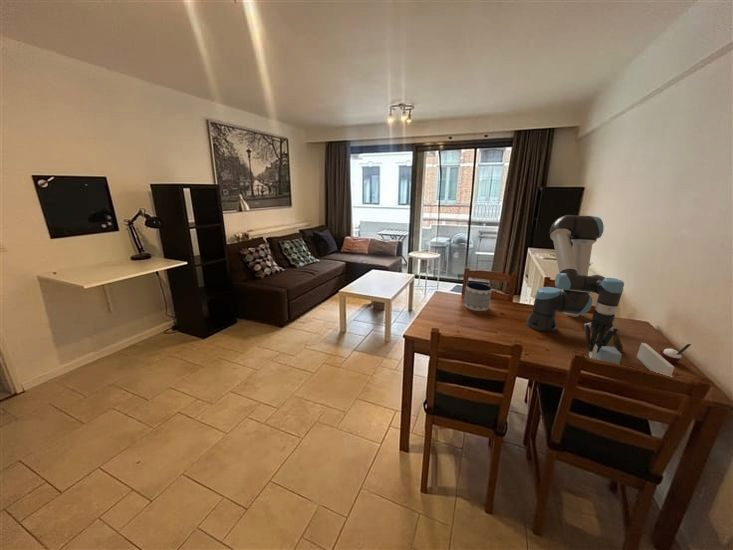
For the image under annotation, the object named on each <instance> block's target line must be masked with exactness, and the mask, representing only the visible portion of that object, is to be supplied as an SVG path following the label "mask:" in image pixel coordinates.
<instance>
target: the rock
mask: <svg viewBox="0 0 733 550" xmlns="http://www.w3.org/2000/svg"><path fill="white" fill-rule="evenodd" d="M606 334H607V332H606ZM606 334H605V335H606ZM605 335H604V337H605ZM606 346H610V347H615V348H616V349H617V350H618V351H619V352H620V353H623V352H624V346H623V344H622V342H621V338H620V336H619V333H618V331H617V332H615V333H614V334H613V336H612V337H611V339H610V341H609V342H608V344H607V345H606Z"/></svg>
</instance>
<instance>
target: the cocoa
mask: <svg viewBox="0 0 733 550" xmlns="http://www.w3.org/2000/svg"><path fill="white" fill-rule="evenodd" d="M691 345H692V344H691V343H687V344H686V345H684V347H682V348H681V349H680V350H679V351H677V350H676V349H673V348H665V349H664V350H660V356H662V357H663V358H664V359H665V360H666V361H668V362H669V363H670V364H677V363H678V362H680V360H681V359H682V357H683V356H682V354H683V352H685V351H686V350H687V349H688V348H690V346H691Z"/></svg>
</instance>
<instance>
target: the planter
mask: <svg viewBox="0 0 733 550" xmlns="http://www.w3.org/2000/svg"><path fill="white" fill-rule="evenodd" d="M492 289H493V288H492V287H491V286H490V285H489V284H486V283H481V282H469V283H466V285H465V291H464V299H463V307H464V308H467V309H469V310H471V311H475V312H484V311H487V310H489V308H490V304H491V303H490V301H491V297H492V296H491V295H492Z"/></svg>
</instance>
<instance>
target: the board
mask: <svg viewBox="0 0 733 550" xmlns="http://www.w3.org/2000/svg"><path fill="white" fill-rule="evenodd" d="M636 359H637V360H638V361H639V362H641V364H642V365H643V366H645V367H646V368H647V369H648V371H650V372H651V371H653V372H656V373H660V374H663V375H666V376H670V377H674V376H673V372H674V369H675V366H674V365H673V364H672V363H669V362H668V361H666V360H665V359H664V358H663V357H662V355H661V354H660V353H658V352H657V351H655V350H654V349H653V347H651V346H650V345H649V344H648V343H645V342H641V344H640V346H639V348H638V352H637V355H636Z"/></svg>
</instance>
